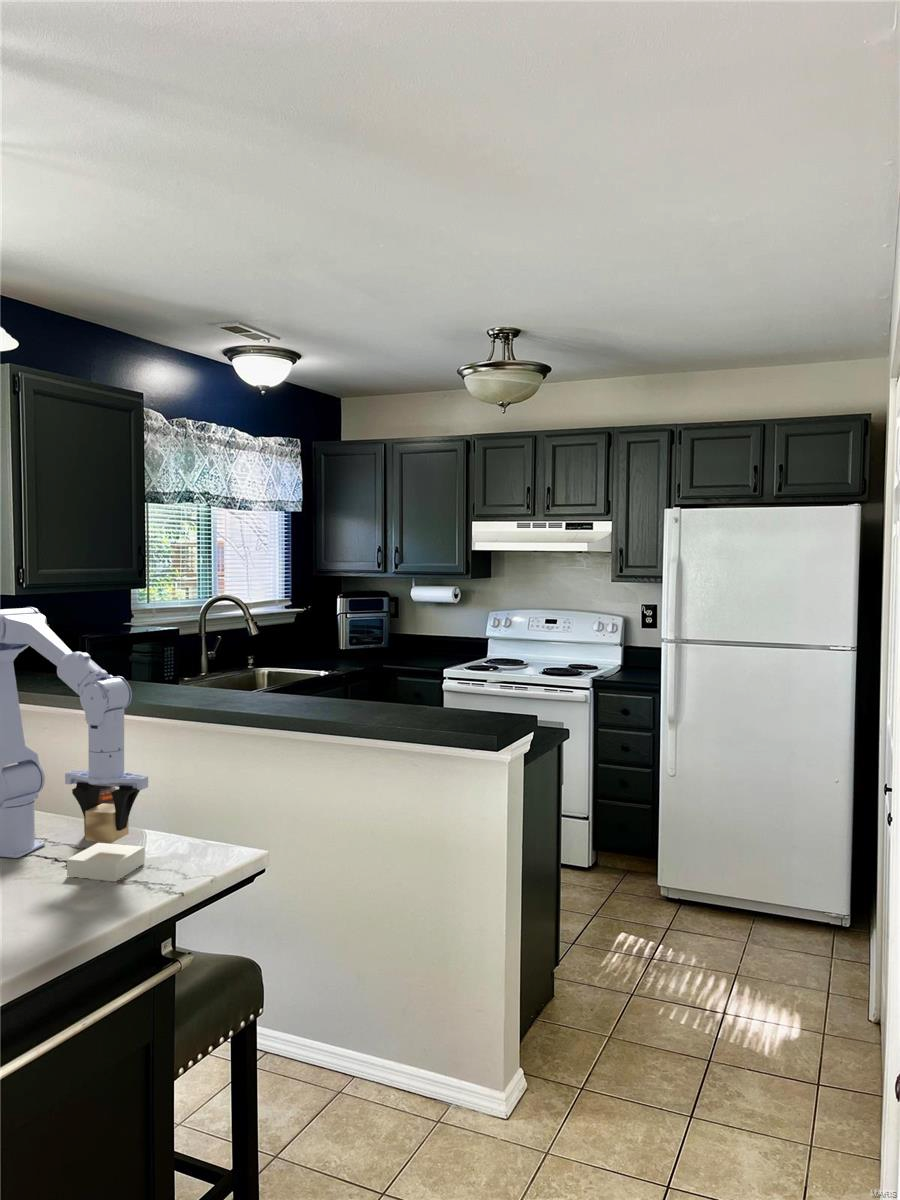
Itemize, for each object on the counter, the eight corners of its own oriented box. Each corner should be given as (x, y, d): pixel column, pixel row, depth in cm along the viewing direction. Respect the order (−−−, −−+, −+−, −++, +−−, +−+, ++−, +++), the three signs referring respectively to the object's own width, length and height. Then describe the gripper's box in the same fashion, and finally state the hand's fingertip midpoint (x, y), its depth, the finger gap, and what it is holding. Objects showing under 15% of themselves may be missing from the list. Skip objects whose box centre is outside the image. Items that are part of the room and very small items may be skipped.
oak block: (85, 840, 152) (85, 811, 152) (102, 831, 157) (102, 803, 157) (112, 842, 151) (112, 813, 151) (128, 833, 156) (128, 805, 156)
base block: (67, 876, 151) (66, 859, 151) (98, 859, 160) (98, 842, 160) (115, 881, 149) (115, 863, 149) (144, 863, 158) (144, 846, 158)
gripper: (53, 751, 151) (54, 831, 152) (132, 756, 148) (132, 838, 149) (79, 743, 158) (79, 819, 159) (154, 747, 155) (154, 825, 156)
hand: (106, 827), depth 154 cm, fingers closed on oak block, 5 cm apart
